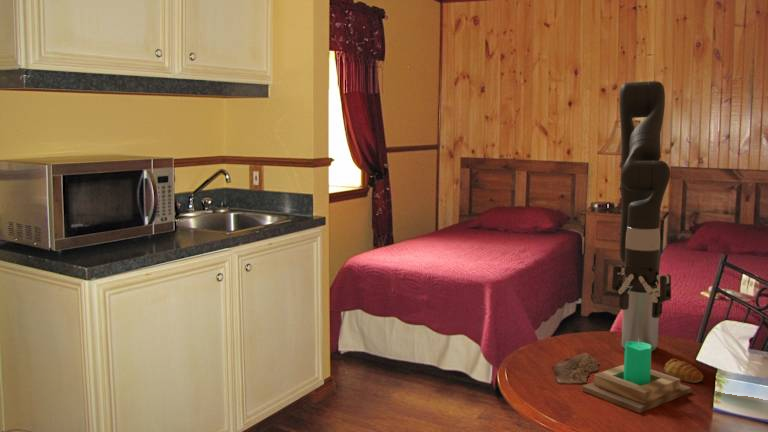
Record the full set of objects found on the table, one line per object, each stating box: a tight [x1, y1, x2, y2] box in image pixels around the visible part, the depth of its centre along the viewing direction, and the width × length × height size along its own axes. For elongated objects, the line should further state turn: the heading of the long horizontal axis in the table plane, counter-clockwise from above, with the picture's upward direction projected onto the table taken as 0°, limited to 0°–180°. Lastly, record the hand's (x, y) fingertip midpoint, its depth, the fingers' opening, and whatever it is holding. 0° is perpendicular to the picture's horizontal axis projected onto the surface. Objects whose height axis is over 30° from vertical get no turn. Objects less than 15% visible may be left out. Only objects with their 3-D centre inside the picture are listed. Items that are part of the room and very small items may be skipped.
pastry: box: [663, 358, 704, 384], centre depth 176 cm, size 9×7×4 cm
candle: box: [623, 339, 652, 386], centre depth 166 cm, size 6×6×12 cm
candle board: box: [581, 364, 692, 414], centre depth 167 cm, size 20×16×4 cm
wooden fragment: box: [551, 352, 601, 386], centre depth 183 cm, size 26×11×1 cm, turn 147°
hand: (639, 313), depth 164 cm, fingers open, 8 cm apart
